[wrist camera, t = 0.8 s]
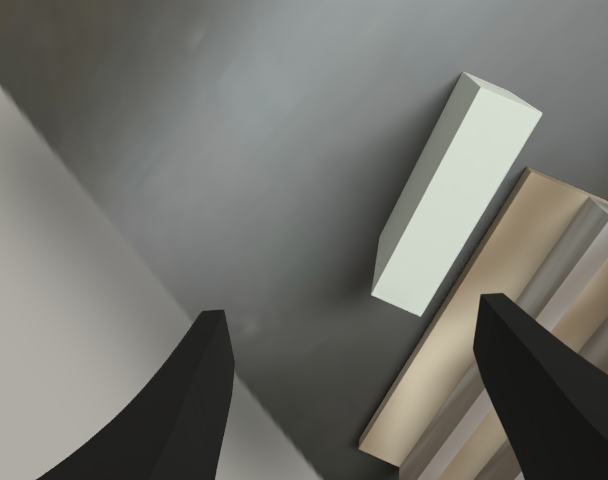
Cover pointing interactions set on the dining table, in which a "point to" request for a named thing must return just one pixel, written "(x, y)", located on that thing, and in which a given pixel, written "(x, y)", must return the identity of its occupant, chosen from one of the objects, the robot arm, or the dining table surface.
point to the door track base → (462, 323)
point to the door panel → (449, 190)
